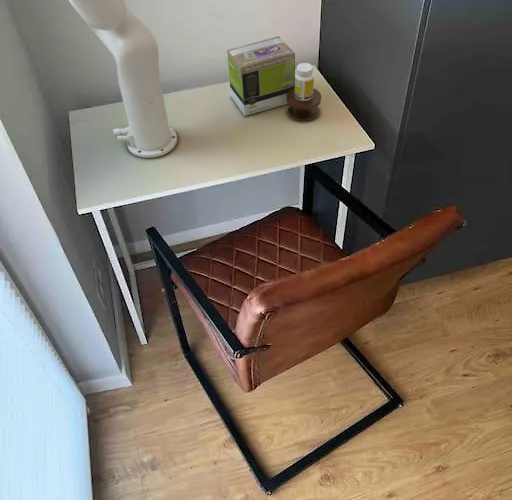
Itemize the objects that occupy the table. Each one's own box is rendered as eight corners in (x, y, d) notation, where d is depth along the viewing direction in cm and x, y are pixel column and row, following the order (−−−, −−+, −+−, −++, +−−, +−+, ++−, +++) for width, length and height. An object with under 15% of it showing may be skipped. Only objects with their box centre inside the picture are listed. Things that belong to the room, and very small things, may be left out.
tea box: (279, 84, 161) (279, 34, 150) (295, 103, 155) (296, 52, 144) (229, 97, 158) (226, 47, 147) (244, 117, 152) (241, 67, 141)
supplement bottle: (314, 91, 150) (315, 62, 143) (311, 102, 147) (313, 73, 140) (295, 90, 151) (296, 61, 144) (293, 100, 148) (293, 71, 141)
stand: (288, 124, 149) (288, 107, 146) (284, 103, 155) (284, 87, 152) (322, 121, 150) (324, 105, 146) (317, 101, 156) (318, 85, 152)
